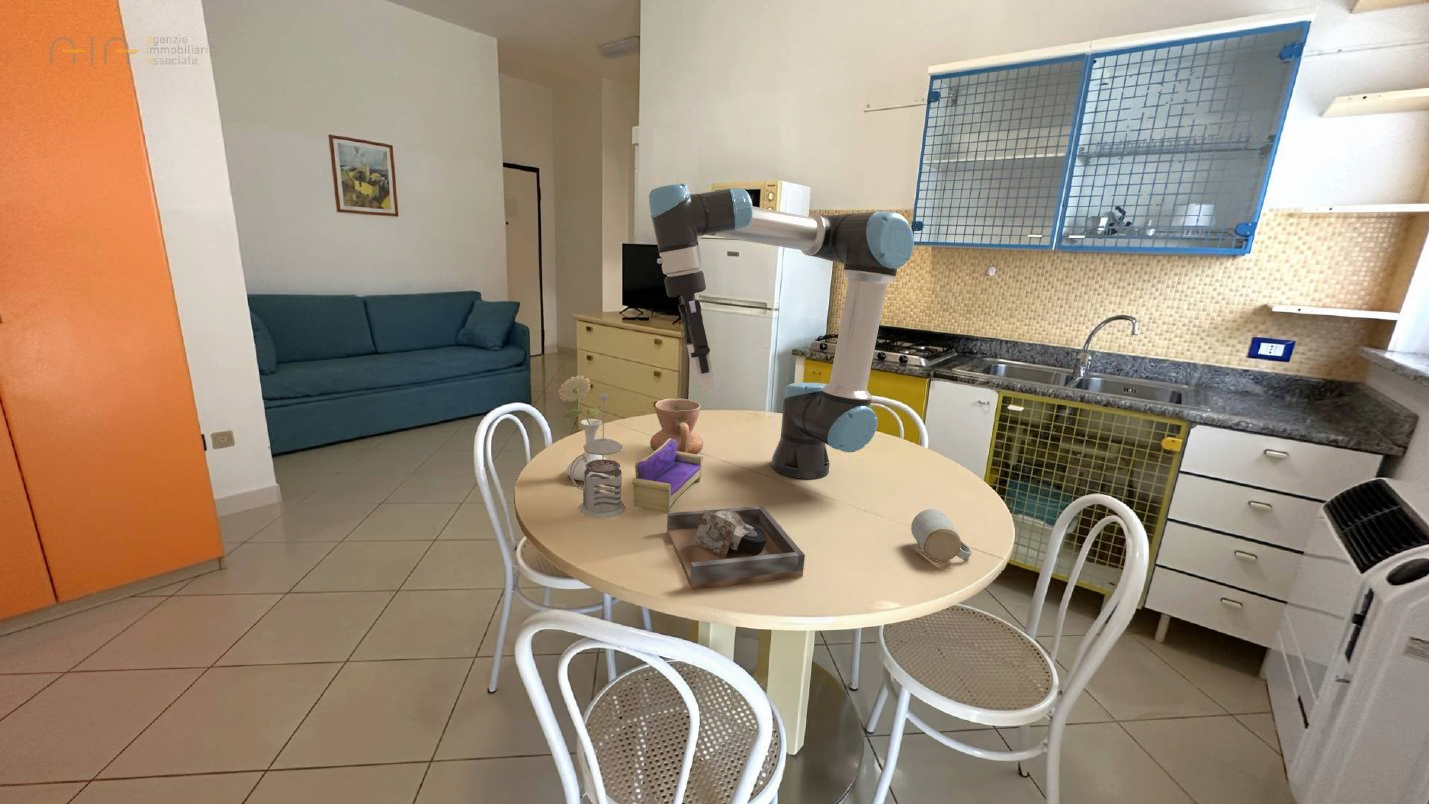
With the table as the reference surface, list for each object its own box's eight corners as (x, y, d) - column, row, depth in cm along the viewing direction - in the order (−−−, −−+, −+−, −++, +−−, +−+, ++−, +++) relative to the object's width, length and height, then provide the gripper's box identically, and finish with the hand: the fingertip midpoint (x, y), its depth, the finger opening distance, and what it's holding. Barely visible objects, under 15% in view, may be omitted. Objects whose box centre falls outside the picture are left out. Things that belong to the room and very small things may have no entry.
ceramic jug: (646, 443, 164) (647, 396, 160) (696, 442, 167) (698, 395, 163) (654, 468, 147) (655, 415, 143) (709, 465, 150) (712, 414, 146)
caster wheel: (765, 555, 109) (746, 572, 100) (715, 528, 113) (692, 542, 104) (777, 524, 108) (758, 538, 98) (726, 498, 112) (703, 509, 103)
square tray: (761, 524, 118) (763, 506, 117) (802, 576, 100) (804, 555, 99) (666, 532, 113) (667, 513, 112) (691, 589, 94) (692, 566, 93)
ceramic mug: (921, 563, 107) (928, 525, 105) (907, 541, 115) (914, 506, 113) (977, 567, 107) (985, 530, 105) (960, 545, 115) (967, 510, 113)
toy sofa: (667, 515, 120) (669, 470, 118) (630, 507, 123) (631, 463, 121) (702, 481, 140) (704, 441, 137) (670, 475, 142) (671, 436, 140)
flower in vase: (610, 466, 145) (612, 370, 139) (618, 484, 134) (620, 380, 128) (557, 470, 141) (556, 370, 134) (560, 488, 130) (559, 381, 124)
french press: (632, 513, 120) (635, 398, 114) (578, 523, 114) (578, 402, 108) (616, 495, 128) (618, 387, 122) (564, 504, 122) (564, 390, 116)
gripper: (659, 274, 119) (679, 372, 125) (667, 279, 95) (691, 400, 101) (695, 267, 119) (712, 365, 125) (711, 271, 96) (732, 392, 101)
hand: (703, 381), depth 113 cm, fingers open, 13 cm apart
